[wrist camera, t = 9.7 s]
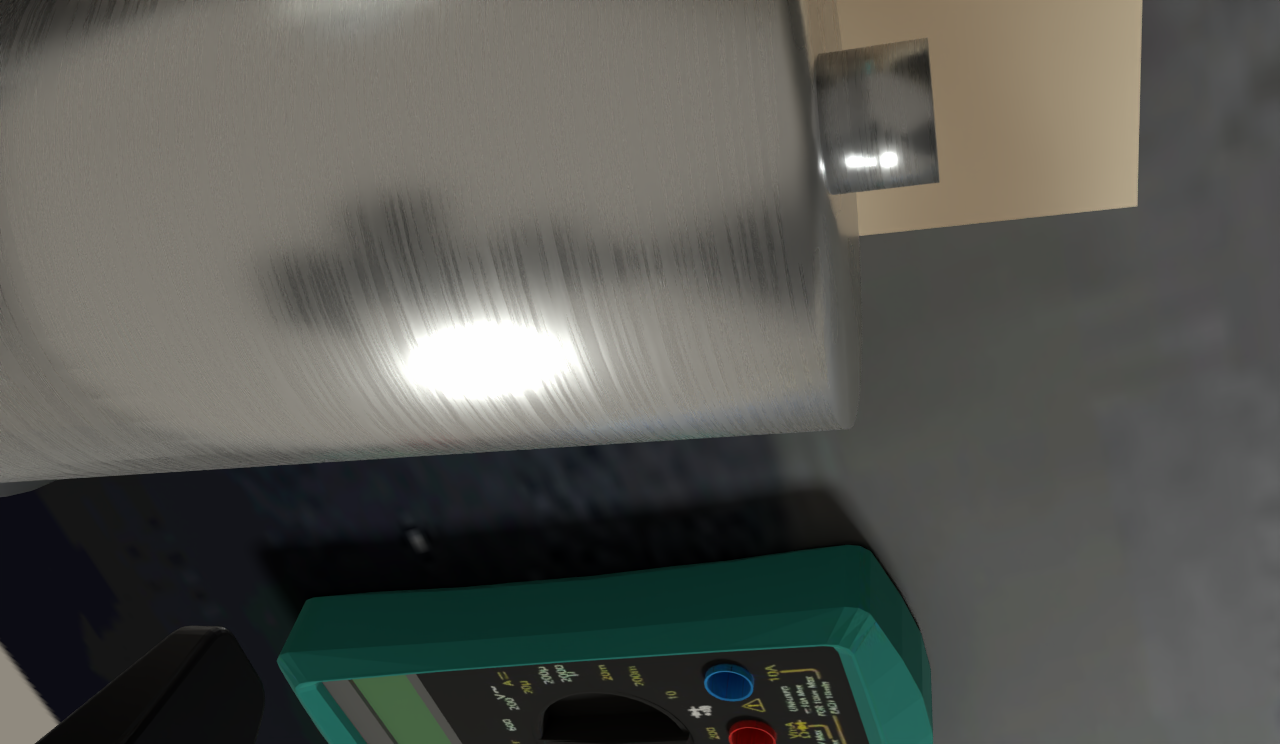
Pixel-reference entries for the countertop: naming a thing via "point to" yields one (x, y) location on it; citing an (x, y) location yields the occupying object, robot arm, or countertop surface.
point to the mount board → (1014, 107)
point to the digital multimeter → (624, 658)
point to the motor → (432, 225)
